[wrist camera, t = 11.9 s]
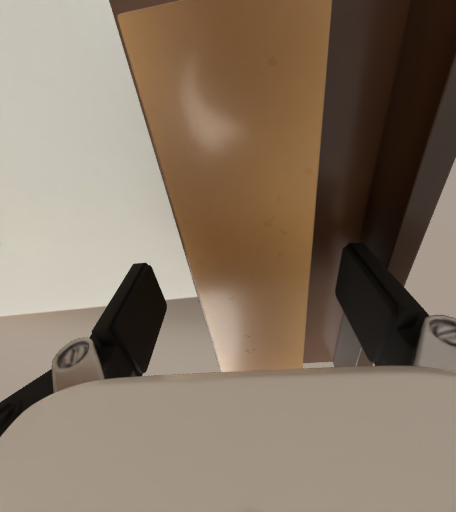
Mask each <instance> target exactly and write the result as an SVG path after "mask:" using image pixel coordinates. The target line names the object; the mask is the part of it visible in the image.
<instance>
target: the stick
mask: <svg viewBox="0 0 456 512" xmlns="http://www.w3.org/2000/svg"><path fill="white" fill-rule="evenodd" d="M331 8H332V0H179V1H175V2H170V3H166V4H161V5H157V6H152V7H148V8H143V9H139V10H134V11H130V12H125V13H121V14H119V15H118V16H117V18H118V22H119V25H120V29H121V32H122V36H123V39H124V42H125V46H126V49H127V53H128V56H129V59H130V63H131V66H132V70H133V73H134V76H135V80H136V83H137V87H138V90H139V93H140V97H141V100H142V103H143V107H144V110H145V114H146V117H147V120H148V124H149V127H150V131H151V134H152V137H153V141H154V144H155V148H156V151H157V154H158V158H159V161H160V164H161V168H162V171H163V175H164V178H165V181H166V185H167V188H168V192H169V195H170V198H171V202H172V205H173V209H174V212H175V215H176V219H177V222H178V225H179V229H180V232H181V236H182V239H183V242H184V246H185V249H186V253H187V256H188V259H189V263H190V266H191V270H192V273H193V276H194V280H195V283H196V286H197V290H198V293H199V297H200V300H201V303H202V307H203V310H204V314H205V317H206V320H207V324H208V327H209V331H210V334H211V337H212V341H213V344H214V347H215V351H216V354H217V358H218V361H219V364H220V368H221V371H222V372H235V371H257V370H279V369H302V367H303V355H304V343H305V330H306V318H307V305H308V293H309V281H310V268H311V256H312V244H313V231H314V219H315V206H316V194H317V182H318V169H319V157H320V144H321V132H322V120H323V107H324V95H325V83H326V70H327V58H328V45H329V33H330V21H331Z"/></svg>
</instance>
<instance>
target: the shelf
mask: <svg viewBox="0 0 456 512" xmlns="http://www.w3.org/2000/svg"><path fill="white" fill-rule="evenodd" d="M175 1H179V0H109V2H110V5H111V8H112V12H113V15H114V18H115V22H116V25H117V28H118V32H119V35H120V38H121V42H122V45H123V48H124V52H125V55H126V58H127V62H128V65H129V68H130V72H131V75H132V78H133V82H134V85H135V88H136V92H137V95H138V98H139V102H140V105H141V108H142V112H143V115H144V118H145V122H146V125H147V129H148V132H149V135H150V139H151V142H152V145H153V149H154V152H155V155H156V159H157V162H158V165H159V169H160V172H161V175H162V179H163V182H164V185H165V189H166V192H167V195H168V199H169V202H170V205H171V209H172V212H173V215H174V219H175V222H176V225H177V229H178V232H179V235H180V239H181V242H182V245H183V249H184V252H185V255H186V259H187V262H188V265H189V269H190V272H191V275H192V279H193V282H194V285H195V289H196V292H197V295H198V299H199V302H200V305H201V309H202V312H203V315H204V318H205V322H206V326H207V329H208V332H209V335H210V339H211V342H212V346H213V349H214V352H215V356H216V359H217V362H218V366H219V367H220V364H219V361H218V358H217V354H216V351H215V347H214V344H213V341H212V337H211V334H210V331H209V327H208V324H207V320H206V317H205V314H204V310H203V307H202V303H201V300H200V297H199V293H198V290H197V286H196V283H195V280H194V276H193V273H192V270H191V266H190V263H189V259H188V256H187V253H186V249H185V246H184V242H183V239H182V236H181V232H180V229H179V225H178V222H177V219H176V215H175V212H174V209H173V205H172V202H171V198H170V195H169V192H168V188H167V185H166V181H165V178H164V175H163V171H162V168H161V164H160V161H159V158H158V154H157V151H156V148H155V144H154V141H153V137H152V134H151V131H150V127H149V124H148V120H147V117H146V114H145V110H144V107H143V103H142V100H141V97H140V93H139V90H138V87H137V83H136V80H135V76H134V73H133V70H132V66H131V63H130V59H129V56H128V53H127V49H126V46H125V42H124V39H123V36H122V32H121V29H120V25H119V22H118V18H117V16H118V15H119V14H121V13H125V12H130V11H134V10H139V9H143V8H148V7H152V6H157V5H161V4H166V3H170V2H175ZM455 158H456V0H332V8H331V21H330V33H329V45H328V58H327V70H326V83H325V95H324V107H323V120H322V132H321V144H320V157H319V169H318V182H317V194H316V206H315V219H314V231H313V244H312V256H311V268H310V281H309V293H308V305H307V318H306V330H305V343H304V355H303V363H314V362H333V363H334V366H335V367H356V366H372V365H373V363H374V362H370V361H369V360H368V358H367V356H366V355H365V353H364V351H363V349H362V347H361V345H360V343H359V341H358V339H357V337H356V335H355V333H354V331H353V329H352V327H351V325H350V323H349V321H348V319H347V317H346V315H345V313H344V311H343V310H342V308H341V306H340V304H339V302H338V300H337V298H336V295H335V288H336V283H337V277H338V272H339V266H340V260H341V255H342V250H343V247H346V246H347V244H349V243H357V242H363V243H364V244H365V245H366V246H367V247H368V249H369V250H370V251H371V252H372V253H373V254H374V255H375V256H376V257H377V259H378V260H379V261H380V262H381V263H382V264H383V265H384V266H385V267H386V269H387V270H388V271H390V272H391V273H392V275H393V276H394V277H395V278H396V279H397V280H398V281H399V282H400V283H401V285H402V286H403V287H404V285H405V283H406V280H407V278H408V275H409V273H410V270H411V268H412V265H413V263H414V260H415V258H416V255H417V253H418V250H419V248H420V245H421V243H422V240H423V238H424V235H425V233H426V230H427V228H428V225H429V223H430V220H431V217H432V215H433V213H434V210H435V208H436V205H437V203H438V200H439V198H440V195H441V193H442V190H443V188H444V185H445V183H446V180H447V178H448V175H449V173H450V170H451V168H452V165H453V163H454V160H455Z"/></svg>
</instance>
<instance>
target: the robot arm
mask: <svg viewBox="0 0 456 512" xmlns="http://www.w3.org/2000/svg"><path fill="white" fill-rule="evenodd" d="M335 295H336V298H337V300H338V302H339V304H340V306H341V308H342V310H343V311H344V313H345V315H346V317H347V319H348V321H349V323H350V325H351V327H352V329H353V331H354V333H355V335H356V337H357V339H358V341H359V343H360V345H361V347H362V349H363V351H364V353H365V355H366V356H367V358H368V360H369V361H370V362H374V364H375V366H356V367H330V368H305V369H304V368H303V369H279V370H257V371H235V372H213V373H193V374H174V375H154V376H142V374H143V373H145V372H146V371H147V368H148V365H149V362H150V359H151V356H152V353H153V350H154V347H155V344H156V341H157V337H158V334H159V331H160V328H161V325H162V322H163V319H164V316H165V313H166V309H167V304H166V301H165V299H164V296H163V294H162V291H161V289H160V287H159V284H158V282H157V279H156V277H155V274H154V272H153V269H152V267H151V266H150V265H148V264H147V263H138V264H133V265H132V267H131V269H130V270H129V272H128V274H127V275H126V277H125V278H124V280H123V282H122V283H121V285H120V286H119V288H118V290H117V291H116V293H115V295H114V296H113V298H112V299H111V301H110V303H109V304H108V306H107V308H106V309H105V311H104V313H103V314H102V316H101V317H100V319H99V321H98V322H97V324H96V325H95V327H94V329H93V330H92V335H91V336H90V338H85V337H83V338H78V339H76V340H74V341H71V342H70V343H68V344H67V345H65V346H64V347H63V348H62V349H60V350H59V352H58V353H57V354H56V355H55V357H54V359H53V361H52V369H51V370H49V371H48V372H46V373H45V374H43V375H42V376H40V377H39V378H37V379H35V380H34V381H32V382H31V383H29V384H28V385H26V386H25V387H23V388H22V389H20V390H18V391H17V392H15V393H14V394H12V395H11V396H9V397H8V398H6V399H5V400H3V401H2V402H0V512H456V319H455V318H453V317H449V316H445V315H432V316H429V315H428V314H427V312H426V311H425V310H424V309H423V308H422V307H421V306H420V305H419V304H418V302H417V301H416V300H415V299H414V298H413V297H412V296H411V295H410V294H409V292H408V291H407V290H406V289H405V288H404V287H403V286H402V285H401V283H400V282H399V281H398V280H397V279H396V278H395V277H394V276H393V275H392V273H391V272H390V271H388V270H387V269H386V267H385V266H384V265H383V264H382V263H381V262H380V261H379V260H378V259H377V257H376V256H375V255H374V254H373V253H372V252H371V251H370V250H369V249H368V247H367V246H366V245H365V244H364V243H363V242H357V243H349V244H347V246H346V247H343V250H342V255H341V260H340V266H339V272H338V277H337V283H336V288H335Z"/></svg>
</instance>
